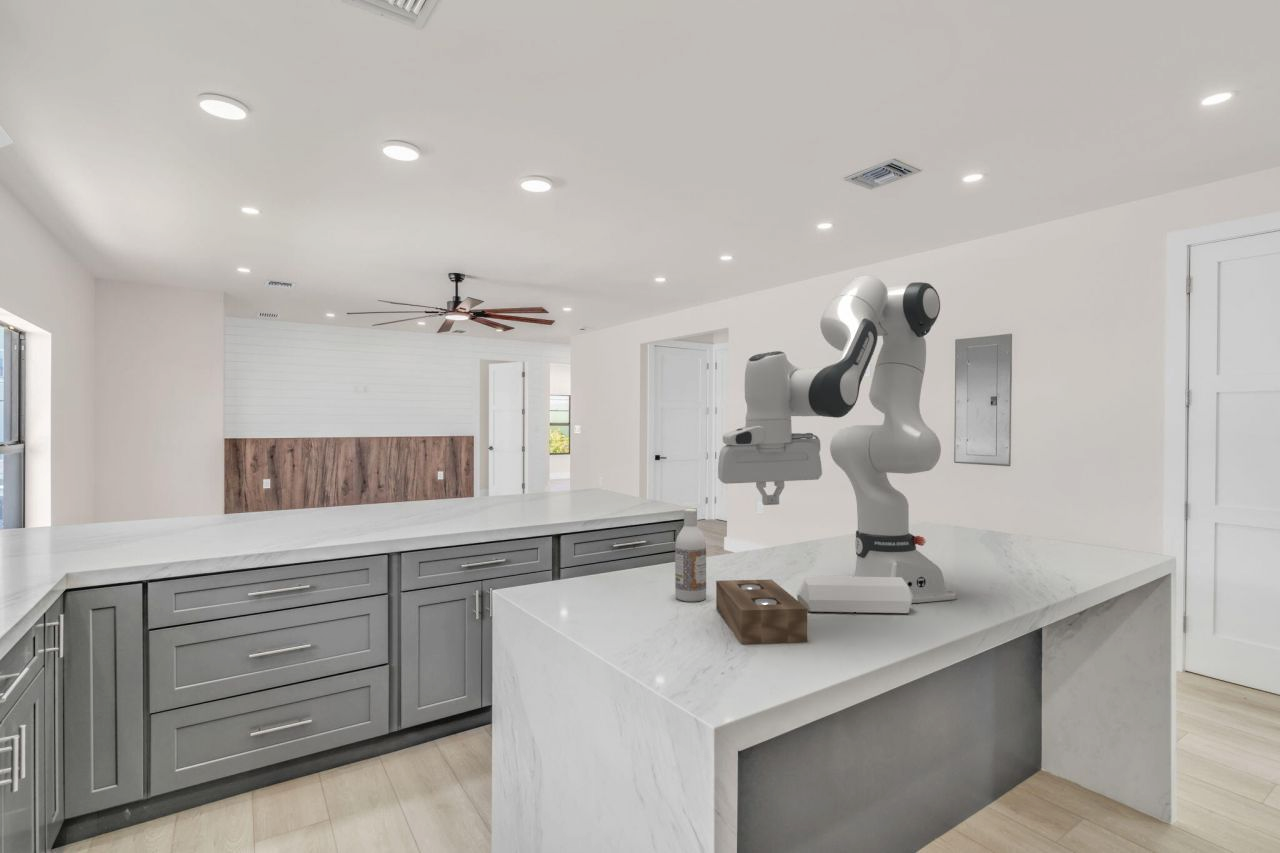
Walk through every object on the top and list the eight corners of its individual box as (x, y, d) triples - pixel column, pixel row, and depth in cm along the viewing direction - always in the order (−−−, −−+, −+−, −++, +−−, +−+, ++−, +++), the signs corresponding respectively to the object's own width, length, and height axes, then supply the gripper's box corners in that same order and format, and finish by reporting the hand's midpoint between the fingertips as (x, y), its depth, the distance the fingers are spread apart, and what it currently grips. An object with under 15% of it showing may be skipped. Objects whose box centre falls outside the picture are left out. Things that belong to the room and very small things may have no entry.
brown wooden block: (771, 607, 135) (771, 579, 135) (807, 642, 113) (807, 608, 113) (716, 609, 134) (716, 580, 134) (741, 644, 112) (741, 610, 112)
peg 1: (757, 611, 131) (757, 584, 131) (763, 617, 127) (763, 589, 127) (738, 612, 131) (738, 584, 131) (743, 617, 127) (743, 589, 127)
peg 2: (773, 628, 120) (773, 598, 120) (779, 635, 116) (779, 604, 116) (752, 628, 120) (752, 598, 120) (758, 635, 116) (758, 604, 116)
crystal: (801, 597, 129) (922, 599, 127) (796, 573, 135) (911, 574, 133) (798, 623, 132) (916, 626, 131) (793, 598, 139) (905, 600, 137)
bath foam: (692, 604, 137) (691, 512, 138) (669, 598, 142) (668, 509, 142) (712, 598, 142) (712, 509, 142) (689, 592, 147) (689, 507, 147)
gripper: (814, 432, 128) (815, 499, 128) (714, 435, 126) (717, 504, 126) (826, 432, 122) (828, 504, 122) (721, 436, 120) (724, 509, 120)
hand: (770, 504), depth 124 cm, fingers closed
